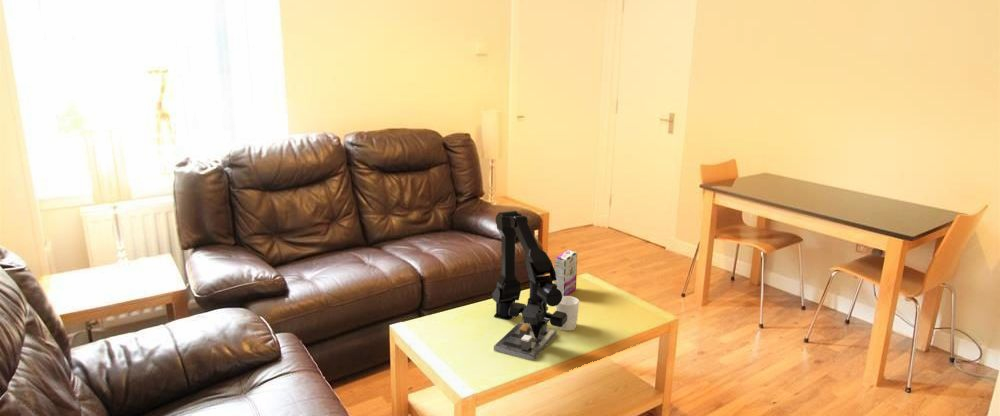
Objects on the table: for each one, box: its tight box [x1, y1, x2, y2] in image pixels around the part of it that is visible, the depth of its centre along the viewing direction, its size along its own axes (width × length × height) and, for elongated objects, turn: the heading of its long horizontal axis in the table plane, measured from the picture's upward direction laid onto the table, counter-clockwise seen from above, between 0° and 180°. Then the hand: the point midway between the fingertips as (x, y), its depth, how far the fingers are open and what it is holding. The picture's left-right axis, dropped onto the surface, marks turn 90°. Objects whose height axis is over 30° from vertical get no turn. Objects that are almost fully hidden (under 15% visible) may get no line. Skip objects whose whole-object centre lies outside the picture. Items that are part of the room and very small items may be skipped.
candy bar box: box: [553, 249, 578, 296], centre depth 240 cm, size 11×5×16 cm, turn 148°
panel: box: [493, 322, 557, 361], centre depth 201 cm, size 14×20×2 cm
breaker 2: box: [521, 335, 532, 350], centre depth 194 cm, size 2×3×4 cm
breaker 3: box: [541, 323, 548, 334], centre depth 205 cm, size 2×3×4 cm
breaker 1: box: [519, 324, 530, 338], centre depth 201 cm, size 2×3×4 cm
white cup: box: [555, 295, 580, 332], centre depth 212 cm, size 8×8×10 cm
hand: (536, 337), depth 200 cm, fingers closed
